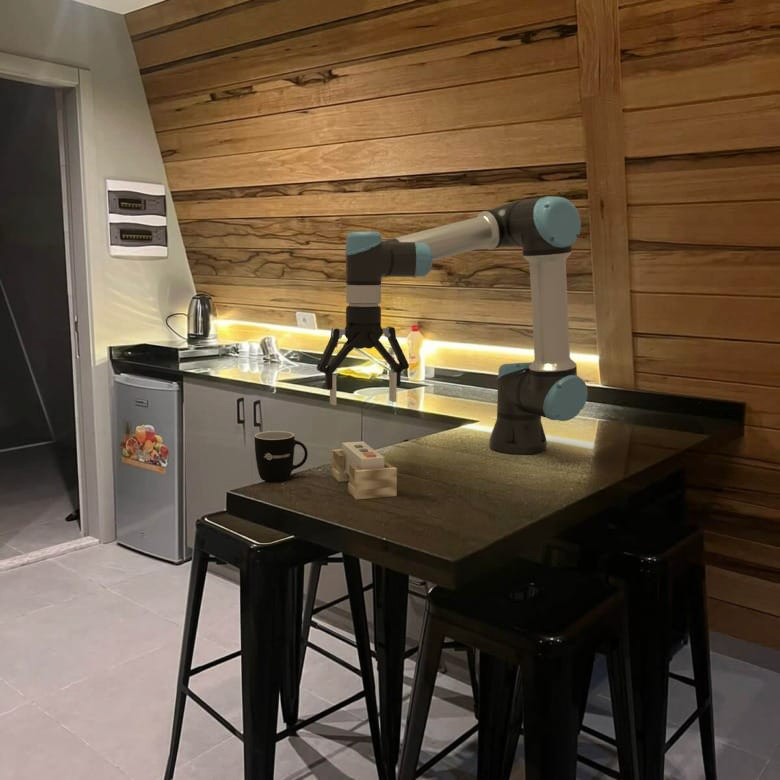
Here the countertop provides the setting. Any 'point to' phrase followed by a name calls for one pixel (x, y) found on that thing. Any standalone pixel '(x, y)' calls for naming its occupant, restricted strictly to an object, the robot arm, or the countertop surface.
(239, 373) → the countertop surface
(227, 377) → the countertop surface
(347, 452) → the power strip
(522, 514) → the countertop surface
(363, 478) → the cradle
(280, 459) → the mug
